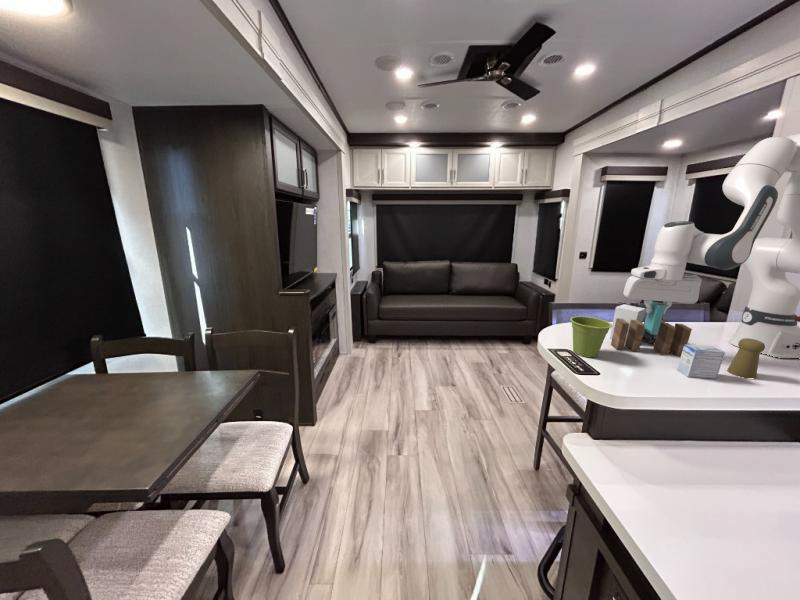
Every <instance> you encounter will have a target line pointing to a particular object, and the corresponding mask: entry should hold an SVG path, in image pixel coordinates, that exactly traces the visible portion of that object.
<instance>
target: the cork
mask: <svg viewBox="0 0 800 600" xmlns="http://www.w3.org/2000/svg"><path fill="white" fill-rule="evenodd" d="M738 346H739V347H738V350H737V352H736V354H735V355H734V358H733V359H732V361H731V363H730V364H729V366H728V368H727V370H726V371H727V372H728V373H729V374H731V375H733V376H736V377H738V376H740V377H739V378H742V377H744V378H743V379H747V378H757V374H758V368H759V363H760V362H759V360H760V354H761V352H762V351H763V350H764V349H765V345H764V343H763V342H761V341H758V340H755V339H749V338H744V339H741V340H740V341H739V343H738Z"/></svg>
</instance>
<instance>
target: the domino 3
mask: <svg viewBox="0 0 800 600" xmlns="http://www.w3.org/2000/svg"><path fill="white" fill-rule="evenodd" d="M650 305H651V307H652V308H653V309H654V311H653V314H651V313H646V315H645V317H646V320H645V319H644V320H645V324H644V323H643V324H644V325H645V326H644V330H645V331H647V332H648V333H650V334H653V335H658V331H659V328H660V324H661V320H662V316H663V317H664V315H663V313H664V309H665V306H664V304H661V303H659V301H652V304H650Z"/></svg>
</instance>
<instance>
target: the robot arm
mask: <svg viewBox="0 0 800 600" xmlns="http://www.w3.org/2000/svg"><path fill="white" fill-rule="evenodd" d="M731 169H732V170H731V171H730V172H729V173H728V174H727V176H726V177H725V179H724V181H723V183H722V187H721V188H722V192H723V195H725V197H726V198H727V199H728V200H730V201H731V202H732V203H735V204H737V205H739V206H742V207H744V209H743V211H742V212H741V214H740V216H739V218H738V220H737V222H736V223H735V225H734V227H733V228H732V230H731V231H729V232H727V233H724V234H718V233H716V234H715V233H705V232H704V231H701V230H700V229H698V228H697V227H696V226H695V223H694V222H693V221H689V220H688V221H686V220H685V221H684V220H683V221H681V220H680V221H671V222H670V221H669V222H667V223H665V224H663V225H662V227H661V228H660V230H659V232H658V234H657V236H656V237H657V238H656V239H655V243H654V247H653V252H654V253H653V257H652V259H651V261H650V264H649V265H644V266H640V267H635V268H632V269H631V271H630V275H631V276H630V277H628V278H627V280H626V283H625V285H624V289H623V296H624V297H625V298H627V299H630V300H640V301H641V300H643V303H644V305H645V307H646V308H645V309H646V311H645V314H647V313H651V314H653V311H654V309H653V308H652V307H651V305H650V304H652V302H663V305H664V306H665V309H664V313H663V316H664V315H666V312H667V310H668V309H669V308H670V307H671V306H672V305H673V303H678V304H688V305H689V304H693V305H694V304H696V303H697V302H698V301H699V296H700V288H701V285H702V281H703V279H702V278H701V277H700V276H699V275H698V274H688V273H685V271H686V268H687V267H686V266H687V263H688V264H694V265H700V266H706V267H711V268H713V269H717V270H720V271H721V270H722V271H729V270H733V269H735V268H737V267H739V266H741V265H743V266H744V267H745V268H746V270H747V271H748V273H749V275H750V278H751V281H752V282H751V283H752V284H751V285H752V286H751V287H752V288H751V292H750V296H749V299H748V303H747V306H745V307H744V309H743V312H742V314H741V321H740V323H739V325H738V327H737V329H736V330H735V333H734V334H733V335H732V336H731V338H730V339H729V340H728V343H730V344H731V345H733V346H735V347H738V348H739V346H738V343H739V341H740V340H741V339H744V338H749V339H755V340H758V341H761V342H763V343H764V345H765V349H764V350H763V351H762V352H761V353H762V355H765V354H767V356H769V355H770V356H769V357H772V356H773V358H775V357H778V358H777V359H780V358H800V327H799V326H798V322H800V315H799V316H798V315H797V314H796V311H797V308H798V306H799V303H800V289H799V287H797V286H796V285H794V284H793V283H791V282H790V281H789V280H788V278H787V275H786V273H792V274H800V133H795V134H790V135H787V136H771V137H767V138H764V139H762V140H760V141H758V142H757V143H756V144H755V145H754V146H752V148H750V149H749V150H748V151H747V152H746V153H745V154H744V155H743V157H742V158H740V160H739V161H738V162H737V163H736V164H735V165H734V167H733V168H731ZM784 173H791V174H790V177H789V179H788V181H787V183H786V185H785V188H784V191H783V194H782V196H781V197H782V198H781V200H780V204H779V206H778V210H777V213H776V220H777V221H778V222H777V223H779V224H781V225H782V226H784V227H785V228H789V230H790V231H791V233H792V238H790V237H789V238H787V237H771V236H769V237H759V238H758V236H759V234H760V232H761V231H762V229H763V227H764V225H765V224H766V222H767V220H768V219H769V217H770V215H771V213H772V211H773V209H774V208H775V205H776V203H777V201H778V196H779V192H778V190H777V188H776V185H777V183H778V181H779V180H780V179H781V177H782V176H783V175H784ZM761 353H760V354H761Z"/></svg>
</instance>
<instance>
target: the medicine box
mask: <svg viewBox="0 0 800 600" xmlns="http://www.w3.org/2000/svg"><path fill="white" fill-rule="evenodd" d="M725 355H726V352H725V351H724V350H722V349H719V348H718V347H715V346H714V345H702V344H699V345H698V344H687V345H684V348H683V351H682V354H681V357H679V361H678V365H677V368H676V370H677V372H678V373H679V372H680V373H681V374H682V375H683V376H685V377H687V378H699V379H700V378H701V379H717V378H718V376H719V373H720V369H721V367H722V364H723V360H724V357H725Z"/></svg>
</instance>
